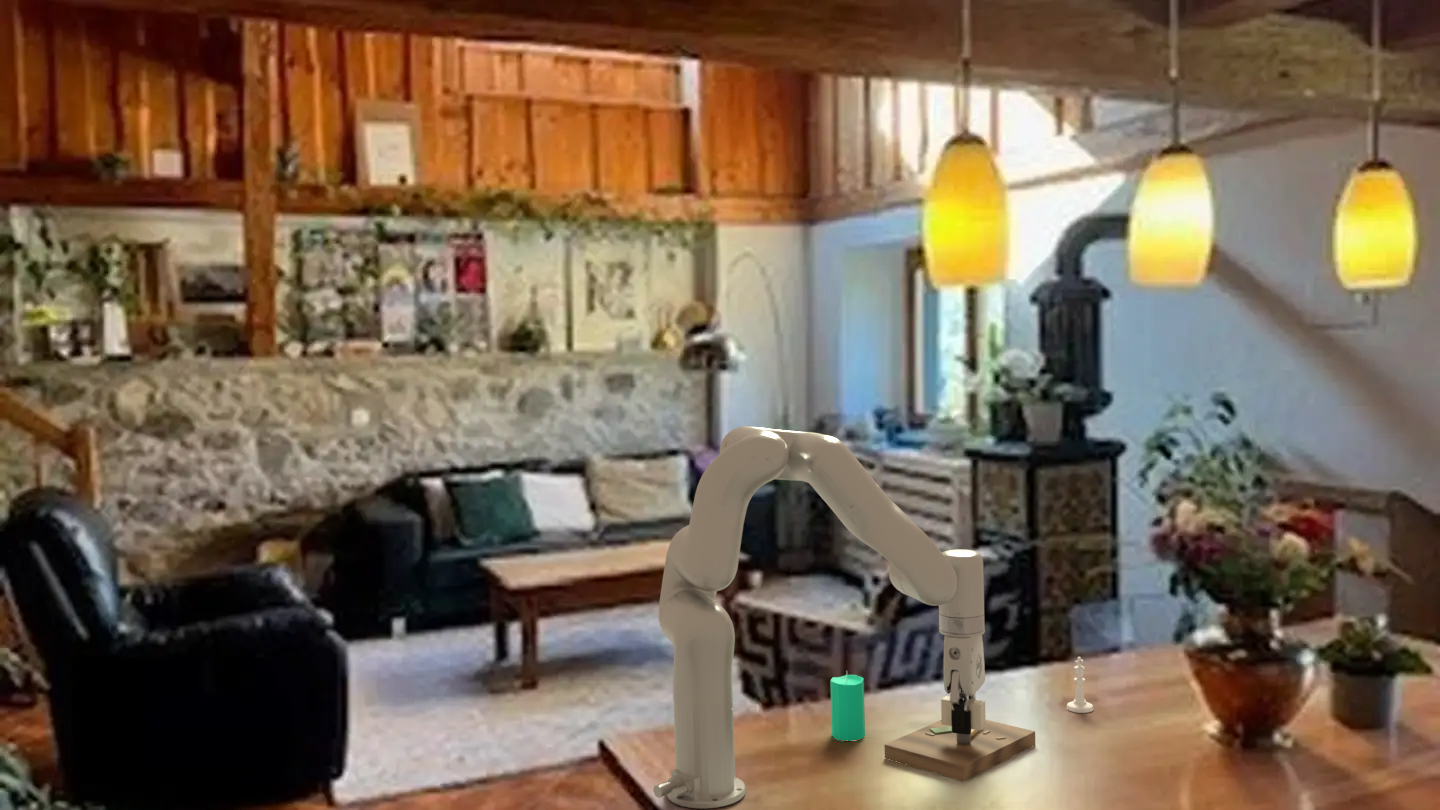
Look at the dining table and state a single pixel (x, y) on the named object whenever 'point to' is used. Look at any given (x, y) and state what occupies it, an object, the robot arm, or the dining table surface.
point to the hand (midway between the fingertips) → (964, 729)
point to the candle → (847, 707)
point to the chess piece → (1079, 692)
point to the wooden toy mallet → (976, 717)
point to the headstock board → (959, 749)
